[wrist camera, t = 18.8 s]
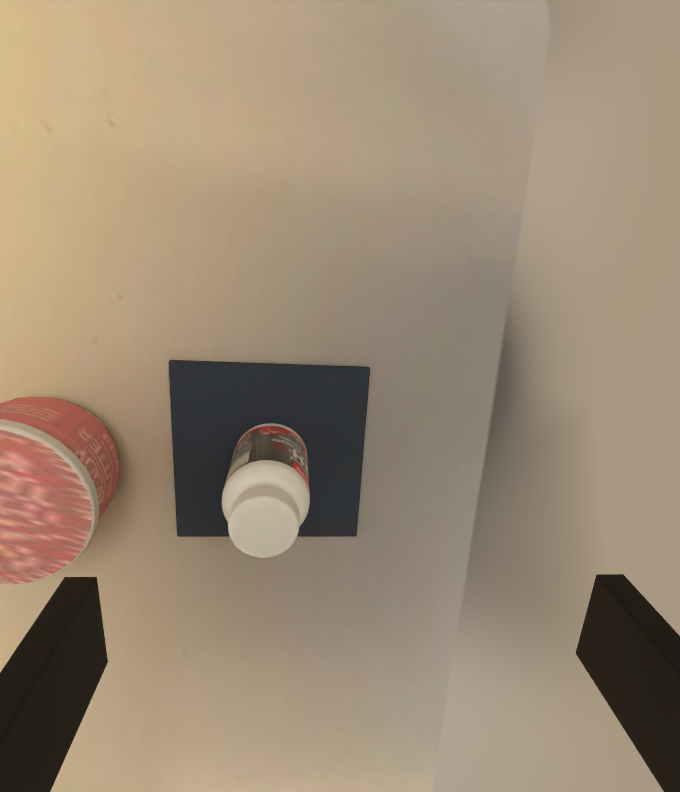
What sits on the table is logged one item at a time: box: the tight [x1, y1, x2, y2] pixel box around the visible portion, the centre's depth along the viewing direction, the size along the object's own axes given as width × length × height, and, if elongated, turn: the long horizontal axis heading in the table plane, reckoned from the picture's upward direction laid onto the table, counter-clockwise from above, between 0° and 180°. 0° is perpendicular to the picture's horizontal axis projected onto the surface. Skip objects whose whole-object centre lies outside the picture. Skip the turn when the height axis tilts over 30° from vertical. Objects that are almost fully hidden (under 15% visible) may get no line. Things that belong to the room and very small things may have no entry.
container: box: [0, 397, 119, 584], centre depth 32 cm, size 10×10×8 cm
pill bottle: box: [222, 423, 310, 558], centre depth 32 cm, size 5×5×10 cm
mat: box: [169, 360, 370, 536], centre depth 37 cm, size 14×14×1 cm
